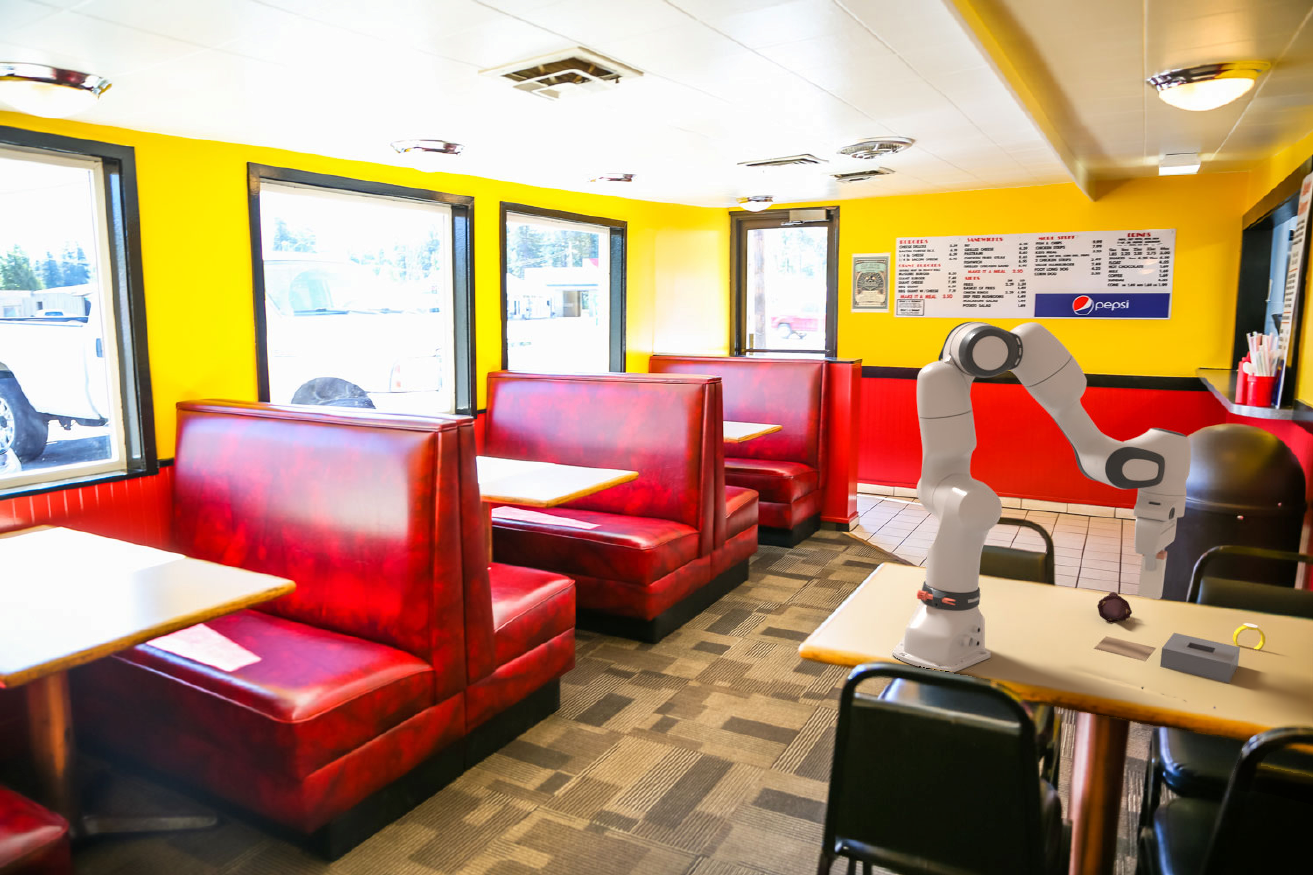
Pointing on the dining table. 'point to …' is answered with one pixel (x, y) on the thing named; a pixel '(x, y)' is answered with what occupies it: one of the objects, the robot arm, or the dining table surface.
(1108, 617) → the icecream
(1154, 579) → the plug
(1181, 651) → the block
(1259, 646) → the watch
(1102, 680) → the dining table surface
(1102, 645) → the pad
